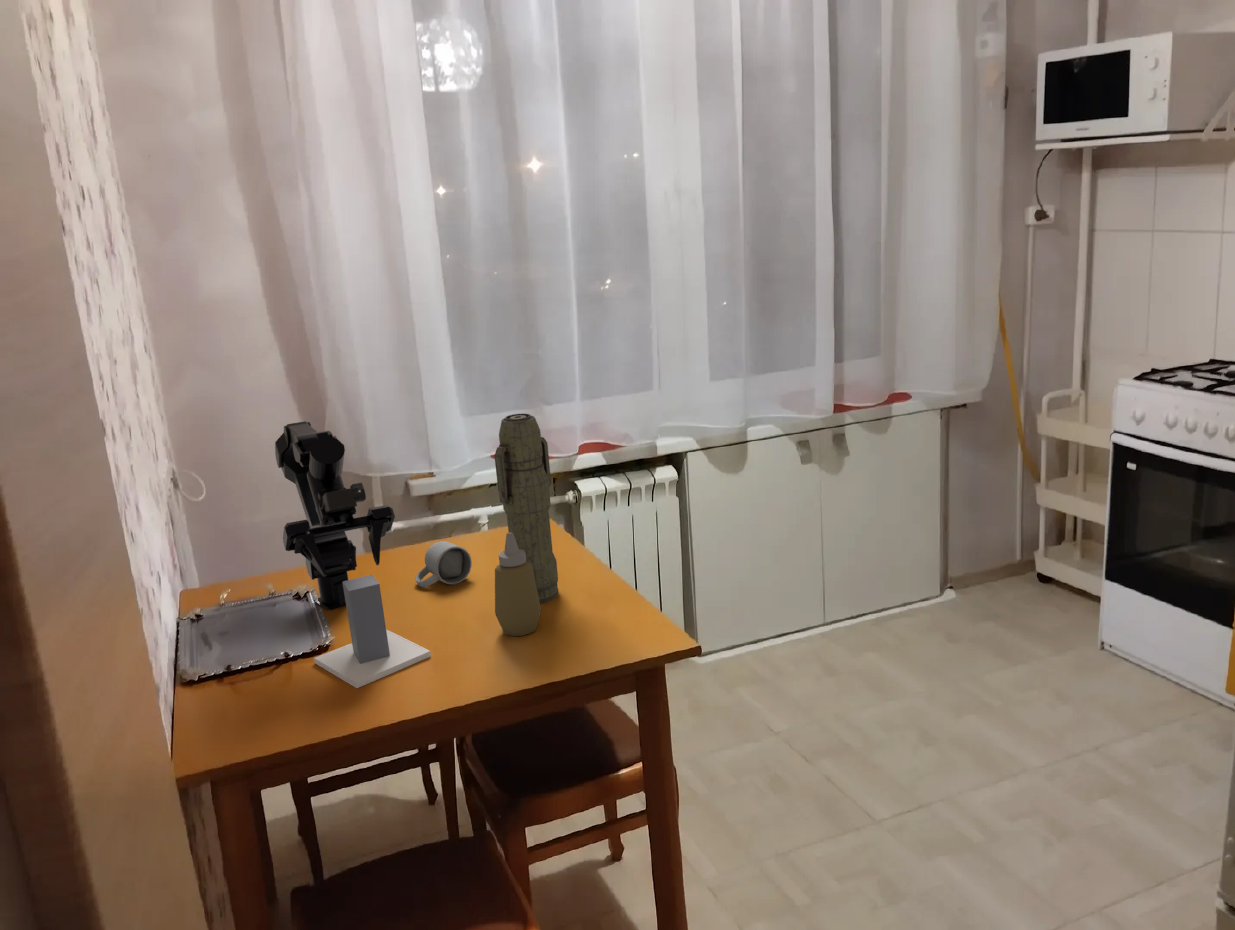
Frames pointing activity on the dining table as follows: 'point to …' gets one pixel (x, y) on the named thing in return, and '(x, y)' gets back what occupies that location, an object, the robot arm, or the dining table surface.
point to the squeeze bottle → (515, 591)
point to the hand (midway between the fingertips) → (351, 569)
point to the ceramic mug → (445, 564)
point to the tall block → (366, 618)
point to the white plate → (358, 674)
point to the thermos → (527, 496)
